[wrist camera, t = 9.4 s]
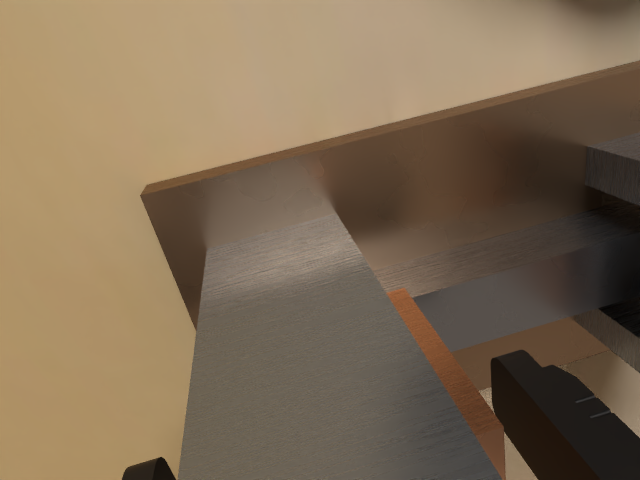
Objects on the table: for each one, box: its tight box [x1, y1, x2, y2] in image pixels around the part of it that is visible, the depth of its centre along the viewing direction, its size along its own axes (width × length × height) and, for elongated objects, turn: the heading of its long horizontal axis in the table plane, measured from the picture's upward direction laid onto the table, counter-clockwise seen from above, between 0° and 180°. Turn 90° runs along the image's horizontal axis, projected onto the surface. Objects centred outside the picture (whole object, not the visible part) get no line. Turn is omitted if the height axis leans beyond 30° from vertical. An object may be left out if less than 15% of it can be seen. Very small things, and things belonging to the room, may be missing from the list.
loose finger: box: [178, 214, 506, 480], centre depth 10 cm, size 7×5×9 cm, turn 12°
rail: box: [140, 61, 640, 391], centre depth 11 cm, size 11×19×10 cm, turn 102°
